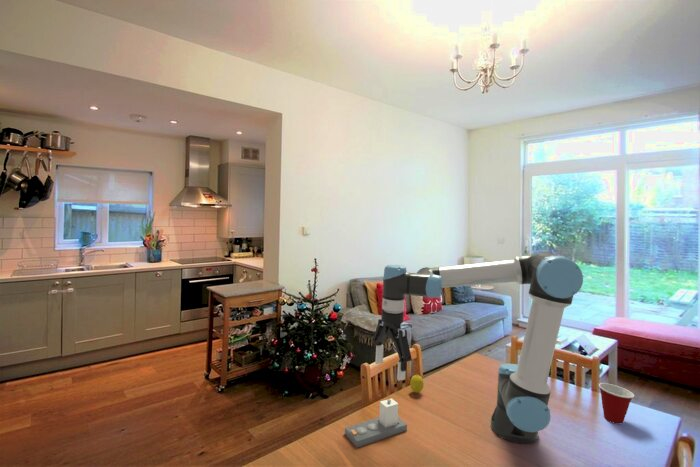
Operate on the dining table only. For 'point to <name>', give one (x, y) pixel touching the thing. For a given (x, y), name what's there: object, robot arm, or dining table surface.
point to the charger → (388, 413)
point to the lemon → (416, 383)
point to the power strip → (372, 431)
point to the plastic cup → (615, 402)
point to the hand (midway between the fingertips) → (389, 370)
